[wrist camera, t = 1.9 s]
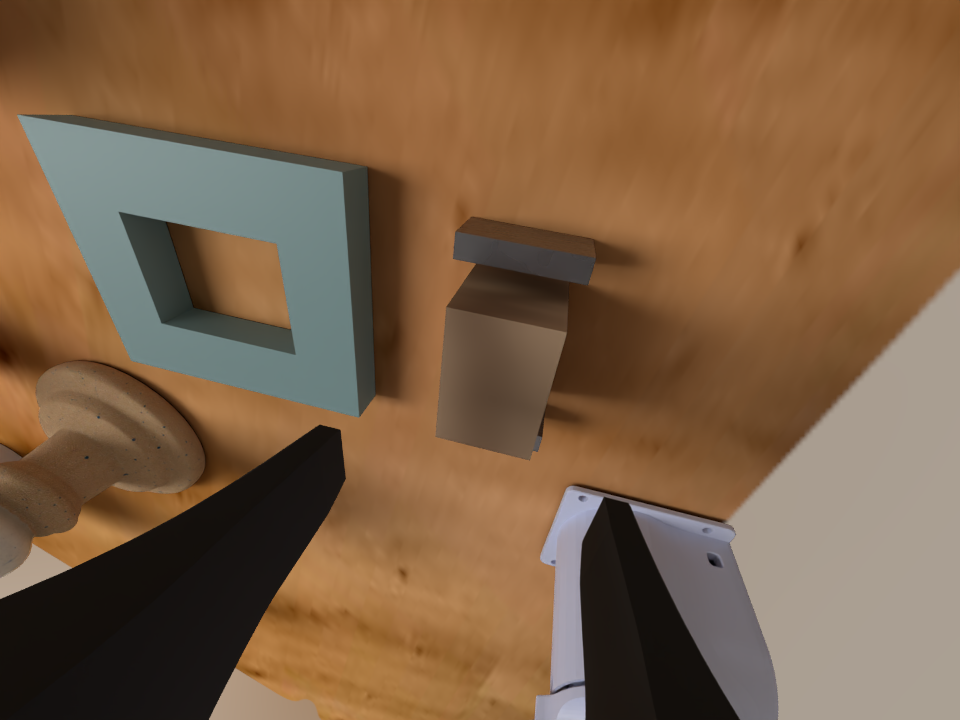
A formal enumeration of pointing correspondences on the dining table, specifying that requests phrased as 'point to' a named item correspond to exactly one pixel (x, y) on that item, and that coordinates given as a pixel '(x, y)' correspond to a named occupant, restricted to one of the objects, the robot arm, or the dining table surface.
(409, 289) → the dining table surface
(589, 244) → the metal stand
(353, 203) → the socket board
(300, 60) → the dining table surface
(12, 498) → the candle holder
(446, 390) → the walnut block
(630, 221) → the dining table surface
